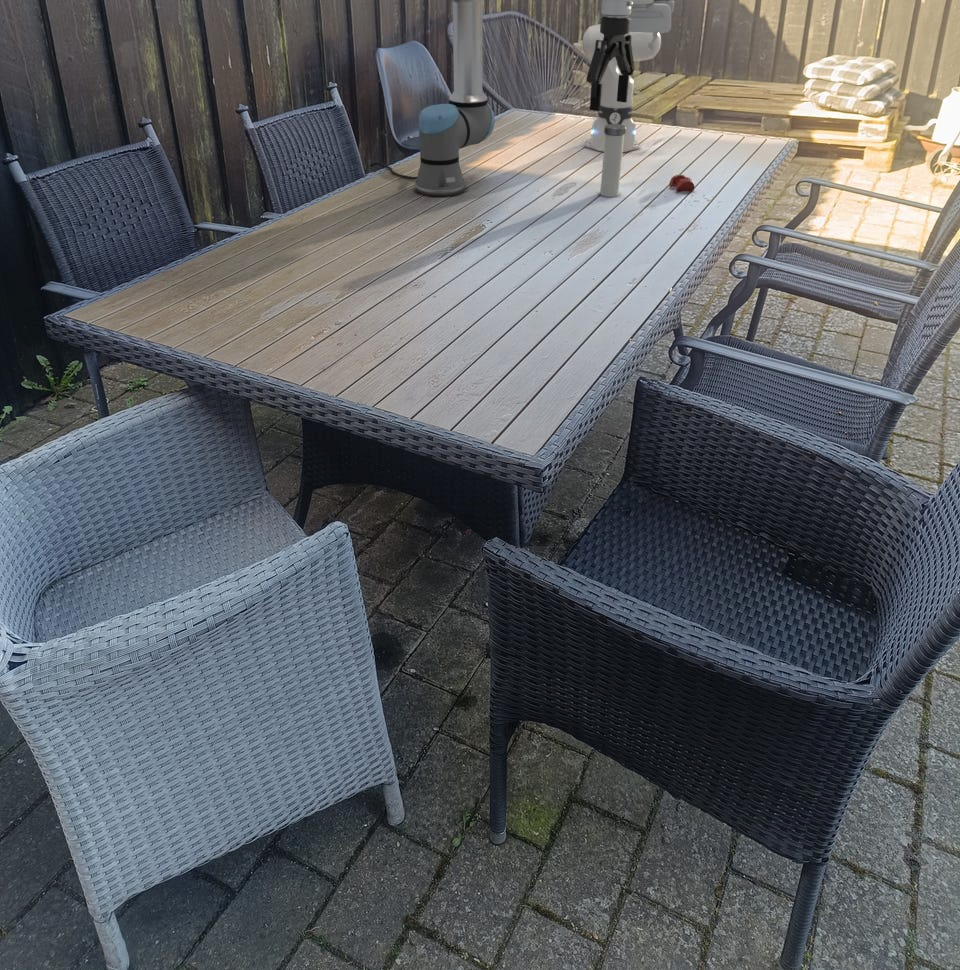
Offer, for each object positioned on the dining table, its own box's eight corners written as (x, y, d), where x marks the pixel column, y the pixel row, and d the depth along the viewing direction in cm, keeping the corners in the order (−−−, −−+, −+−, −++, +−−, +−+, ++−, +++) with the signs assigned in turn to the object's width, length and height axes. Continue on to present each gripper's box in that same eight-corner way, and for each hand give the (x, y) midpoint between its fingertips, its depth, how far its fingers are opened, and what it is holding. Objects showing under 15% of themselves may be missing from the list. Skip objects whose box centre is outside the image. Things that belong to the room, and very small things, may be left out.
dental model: (685, 170, 259) (697, 178, 253) (684, 184, 262) (695, 192, 256) (668, 172, 258) (679, 180, 252) (667, 186, 261) (678, 194, 255)
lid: (628, 132, 245) (629, 125, 244) (619, 136, 241) (620, 129, 240) (609, 129, 248) (610, 122, 247) (600, 133, 244) (601, 127, 243)
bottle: (621, 193, 256) (627, 127, 244) (613, 198, 252) (619, 131, 241) (605, 190, 258) (610, 124, 247) (597, 195, 254) (602, 128, 243)
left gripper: (602, 22, 204) (595, 116, 216) (653, 12, 219) (644, 100, 232) (576, 19, 207) (570, 112, 220) (628, 10, 223) (620, 96, 236)
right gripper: (675, -5, 245) (668, 48, 253) (604, -6, 248) (600, 46, 256) (676, -3, 240) (669, 51, 248) (603, -4, 243) (599, 50, 251)
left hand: (608, 106), depth 226 cm, fingers open, 13 cm apart
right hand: (634, 49), depth 252 cm, fingers open, 8 cm apart
